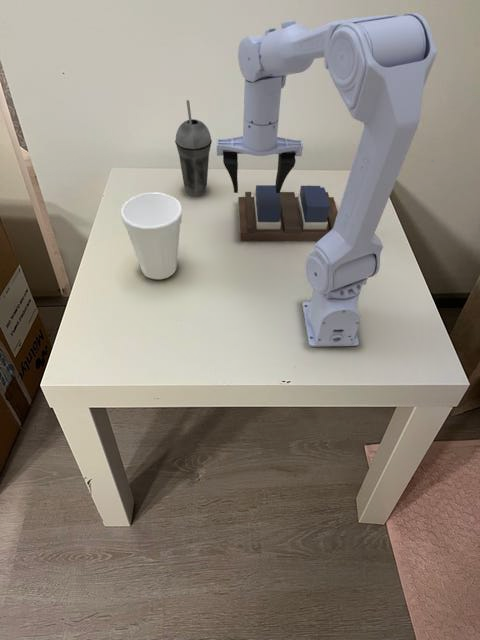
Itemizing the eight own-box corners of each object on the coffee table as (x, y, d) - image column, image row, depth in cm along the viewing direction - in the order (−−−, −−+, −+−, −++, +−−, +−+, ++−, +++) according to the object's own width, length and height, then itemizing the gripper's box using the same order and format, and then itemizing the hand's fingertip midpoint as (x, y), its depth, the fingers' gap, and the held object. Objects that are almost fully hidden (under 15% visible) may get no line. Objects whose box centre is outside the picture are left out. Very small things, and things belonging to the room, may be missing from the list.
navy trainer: (280, 229, 94) (282, 207, 90) (256, 229, 94) (258, 207, 90) (275, 199, 100) (277, 177, 97) (253, 199, 100) (254, 177, 96)
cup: (154, 244, 93) (146, 185, 83) (197, 263, 90) (194, 203, 80) (119, 274, 87) (107, 214, 77) (164, 296, 84) (157, 236, 74)
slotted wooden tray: (341, 241, 95) (345, 227, 93) (240, 241, 94) (240, 227, 92) (331, 204, 103) (334, 192, 101) (238, 204, 102) (238, 191, 100)
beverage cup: (219, 188, 106) (218, 96, 91) (199, 204, 102) (196, 110, 87) (191, 178, 108) (187, 86, 94) (172, 193, 104) (163, 100, 89)
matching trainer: (326, 229, 94) (331, 207, 90) (303, 229, 94) (306, 207, 90) (319, 199, 101) (322, 178, 97) (297, 199, 101) (300, 177, 97)
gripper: (302, 106, 82) (293, 178, 92) (216, 105, 81) (217, 177, 91) (307, 126, 77) (298, 199, 87) (216, 125, 76) (217, 199, 86)
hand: (256, 189), depth 89 cm, fingers open, 7 cm apart
